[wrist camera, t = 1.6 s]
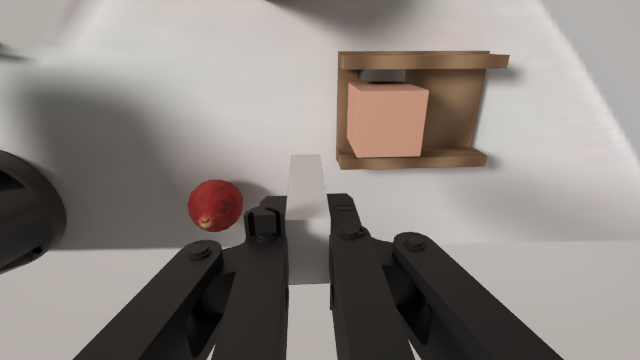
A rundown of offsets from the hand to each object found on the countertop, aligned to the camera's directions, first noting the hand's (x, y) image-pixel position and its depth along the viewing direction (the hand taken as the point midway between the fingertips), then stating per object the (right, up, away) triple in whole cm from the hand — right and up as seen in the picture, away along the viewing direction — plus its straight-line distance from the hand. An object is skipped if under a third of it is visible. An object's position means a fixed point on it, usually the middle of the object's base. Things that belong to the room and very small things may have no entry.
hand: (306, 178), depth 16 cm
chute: (+11, +8, +19) cm, 23 cm away
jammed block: (+7, +8, +17) cm, 20 cm away
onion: (-11, -1, +22) cm, 25 cm away
